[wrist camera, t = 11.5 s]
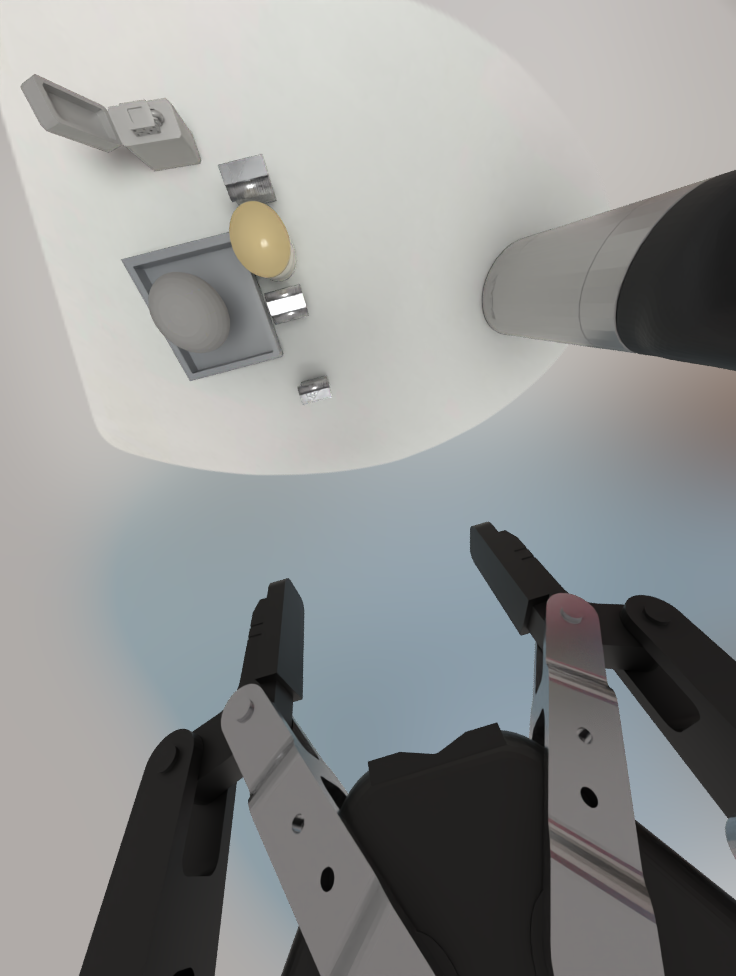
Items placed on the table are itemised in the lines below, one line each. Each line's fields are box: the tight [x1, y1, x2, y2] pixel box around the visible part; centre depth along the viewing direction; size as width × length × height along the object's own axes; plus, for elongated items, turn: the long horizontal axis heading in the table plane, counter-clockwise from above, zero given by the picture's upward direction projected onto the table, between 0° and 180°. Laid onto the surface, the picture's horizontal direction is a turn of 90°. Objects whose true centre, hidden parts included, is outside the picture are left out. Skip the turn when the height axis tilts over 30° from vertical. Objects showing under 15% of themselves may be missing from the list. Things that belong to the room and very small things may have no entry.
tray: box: [121, 232, 283, 381], centre depth 27 cm, size 10×10×2 cm
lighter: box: [21, 74, 201, 171], centre depth 19 cm, size 7×2×8 cm, turn 99°
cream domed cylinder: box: [229, 201, 296, 281], centre depth 24 cm, size 4×4×8 cm
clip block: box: [218, 154, 332, 405], centre depth 27 cm, size 3×17×6 cm, turn 12°
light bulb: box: [148, 272, 230, 353], centre depth 24 cm, size 6×5×10 cm
